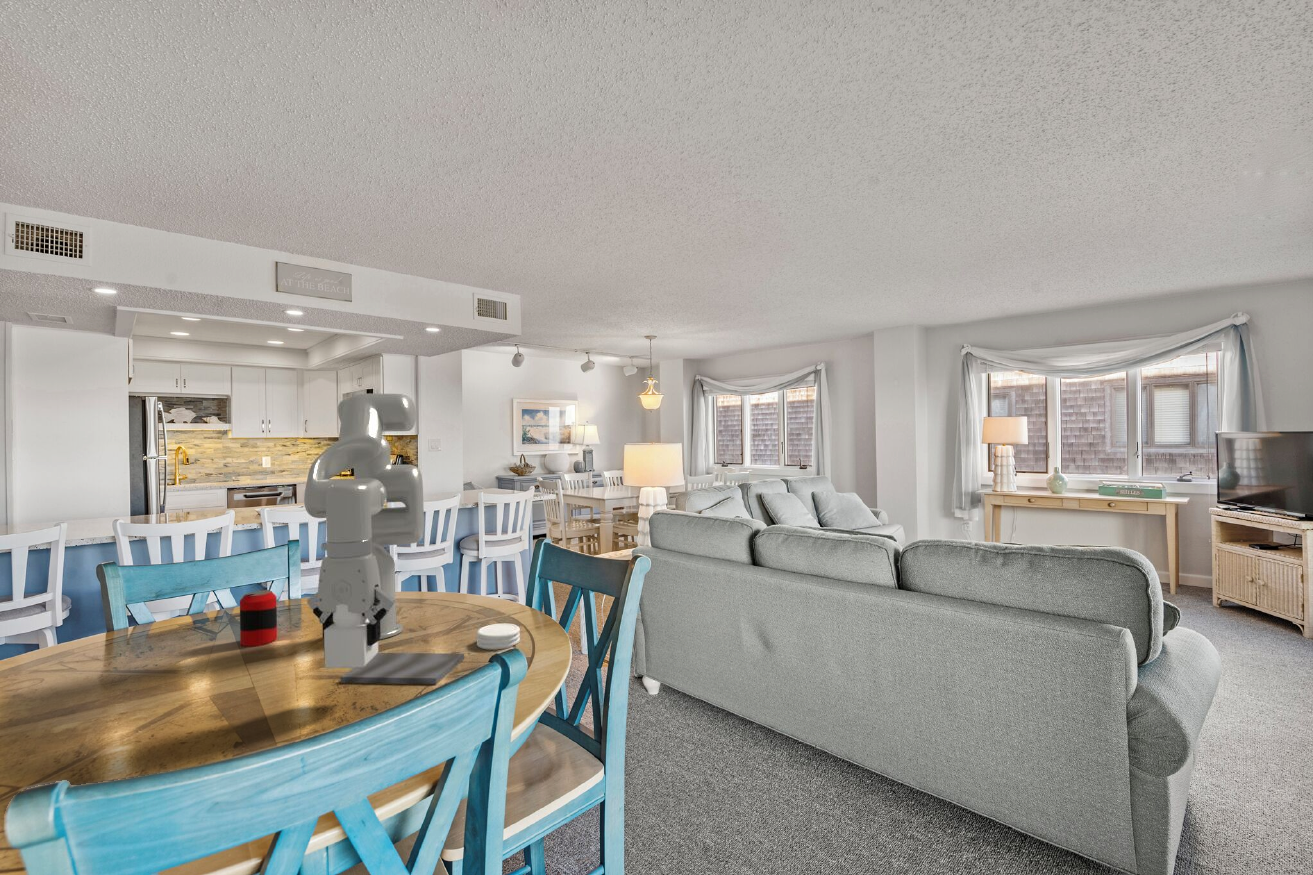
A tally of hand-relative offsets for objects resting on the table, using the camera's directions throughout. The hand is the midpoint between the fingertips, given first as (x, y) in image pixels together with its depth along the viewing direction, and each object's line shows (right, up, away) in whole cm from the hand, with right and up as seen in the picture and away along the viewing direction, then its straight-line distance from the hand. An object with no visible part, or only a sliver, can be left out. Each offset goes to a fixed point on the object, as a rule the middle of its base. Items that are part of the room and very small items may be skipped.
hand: (351, 642), depth 115 cm
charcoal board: (+4, -11, +15) cm, 19 cm away
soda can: (-41, -12, +36) cm, 56 cm away
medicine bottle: (0, -4, 0) cm, 4 cm away
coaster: (+19, -11, +32) cm, 39 cm away
